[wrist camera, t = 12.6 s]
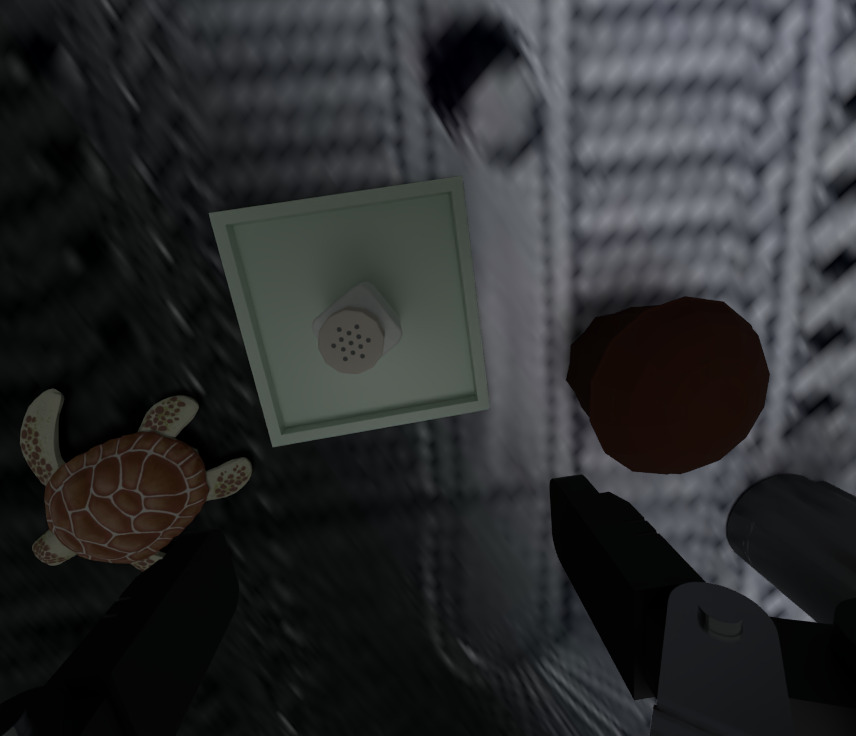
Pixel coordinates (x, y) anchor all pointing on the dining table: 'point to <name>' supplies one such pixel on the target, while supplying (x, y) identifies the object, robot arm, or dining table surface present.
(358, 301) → the pepper shaker
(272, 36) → the dining table surface
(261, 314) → the tray
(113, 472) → the decorative turtle
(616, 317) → the muffin
